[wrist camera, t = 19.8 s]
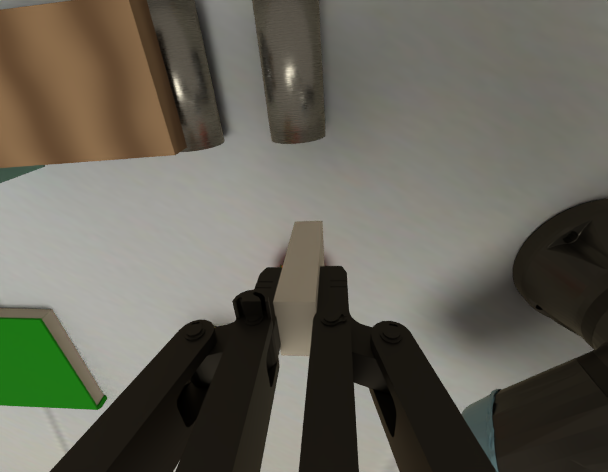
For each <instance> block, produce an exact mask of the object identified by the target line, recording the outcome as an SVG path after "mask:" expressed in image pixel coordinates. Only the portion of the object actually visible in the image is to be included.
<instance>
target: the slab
mask: <svg viewBox="0 0 608 472" xmlns="http://www.w3.org/2000/svg"><path fill="white" fill-rule="evenodd" d="M186 148H187V144H186V141H185V137H184V134H183V130H182V126H181V123H180V119H179V116H178V112H177V108H176V105H175V101H174V97H173V94H172V90H171V87H170V83H169V79H168V76H167V72H166V68H165V65H164V61H163V58H162V54H161V50H160V47H159V43H158V40H157V36H156V32H155V29H154V25H153V21H152V18H151V14H150V11H149V7H148V3H147V0H72V1H64V2H56V3H49V4H41V5H34V6H26V7H18V8H11V9H3V10H0V168H8V167H22V166H35V165H48V164H62V163H75V162H88V161H101V160H115V159H128V158H141V157H155V156H168V155H176V154H178V153H179V152H181V151H182V150H184V149H186Z"/></svg>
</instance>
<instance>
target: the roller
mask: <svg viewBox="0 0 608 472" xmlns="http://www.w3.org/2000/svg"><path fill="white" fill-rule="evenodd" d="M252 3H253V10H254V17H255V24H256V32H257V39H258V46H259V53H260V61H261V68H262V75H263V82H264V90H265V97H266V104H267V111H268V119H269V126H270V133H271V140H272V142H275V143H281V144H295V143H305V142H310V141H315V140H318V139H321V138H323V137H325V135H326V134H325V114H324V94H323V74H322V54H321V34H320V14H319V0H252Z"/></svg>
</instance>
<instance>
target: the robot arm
mask: <svg viewBox="0 0 608 472" xmlns="http://www.w3.org/2000/svg"><path fill="white" fill-rule="evenodd" d="M513 280H514V284H515V286H516V288H517V290H518V291H519V293H520V294H521V295H522V296H523V297H524V298H525V300H526V301H527V302H528V303H529V304H530V305H531V306H532V307H533V308H534V309H535V310H537V311H538V312H540V313H542V314H543V315H545V316H547V317H550V318H551V319H552V320H554V321H555V322H557V323H558V324H560V325H562V326H563V327H565V328H567V329H569V330H570V331H572V332H574V333H575V334H577V335H579V336H581V337H582V338H583V339H584V340H585V341H586V342H587V343H588V344H589V345H590V346H591V347H592V348H593V349H594V350H593V351H591V352H589V353H587V354H585V355H582V356H580V357H578V358H575V359H572V360H570V361H568V362H565V363H563V364H561V365H558V366H556V367H554V368H551V369H549V370H547V371H544V372H542V373H540V374H537V375H535V376H533V377H530V378H528V379H526V380H523V381H521V382H519V383H516V384H514V385H512V386H509V387H507V388H505V389H496V390H493V391H492V392H491V394H490V395H488V396H487V397H485V398H483V399H481V400H479V401H477V402H475V403H473V404H471V405H469V406H468V407H466V408H465V409H464V411H463V412H462V414H461V413H460V411H459V410H458V408H457V407H456V405H455V403H454V402H453V400H452V399H451V397H450V395H449V394H448V392H447V390H446V389H445V387H444V386H443V384H442V382H441V381H440V379H439V378H438V376H437V374H436V373H435V371H434V369H433V368H432V366H431V365H430V363H429V361H428V360H427V358H426V357H425V355H424V353H423V352H422V350H421V349H420V347H419V345H418V344H417V342H416V340H415V339H414V337H413V336H412V334H411V332H410V331H409V330H408V329H407V328H406V327H405V326H403V325H402V324H400V323H397V322H393V321H382V322H379V323H377V324H376V325H375V326H373V328H372V327H369V326H365V325H362V324H360V323H358V322H357V321H355V320H354V319H353V318H352V317H351V315H350V313H349V304H348V288H347V272H346V271H345V270H344V268H343V267H342V266H324V246H323V225H322V221H303V222H295V223H294V227H293V230H292V234H291V238H290V241H289V245H288V249H287V253H286V256H285V260H284V264H283V267H268V268H266V269H265V270H264V271H263V272H262V273H260V275H259V278H258V281H257V283H256V286H255V289H254V290H248V291H245V292H242V293H240V294H239V295H238V296H236V297H235V298H234V300H233V301H232V302H233V306H234V310H235V315H236V321H235V322H233V323H230V324H227V325H223V326H219V327H215V328H214V326H213V324H212V323H211V322H210V321H207V320H196V321H192V322H190V323H188V324H186V325H185V326H184V327H182V328H181V329H180V330H179V331H178V332H177V333H176V334H175V336H174V337H173V338H172V339H171V340H170V341H169V342H168V343H167V344H166V345H165V346H164V348H163V349H162V350H161V351H160V352H159V353H158V354H157V355H156V356H155V357H154V358H153V360H152V361H151V362H150V363H149V364H148V365H147V366H146V367H145V368H144V369H143V370H142V372H141V373H140V374H139V375H138V376H137V377H136V378H135V379H134V380H133V381H132V382H131V384H130V385H129V386H128V387H127V388H126V389H125V390H124V391H123V392H122V393H121V394H120V396H119V397H118V398H117V399H116V400H115V401H114V402H113V403H112V404H111V405H110V406H109V408H108V409H107V410H106V411H105V412H104V413H103V414H102V415H101V416H100V417H99V418H98V420H97V421H96V422H95V423H94V424H93V425H92V426H91V427H90V428H89V429H88V430H87V432H86V433H85V434H84V435H83V436H82V437H81V438H80V439H79V440H78V441H77V442H76V444H75V445H74V446H73V447H72V448H71V449H70V450H69V451H68V452H67V453H66V454H65V456H64V457H63V458H62V459H61V460H60V461H59V462H58V463H57V464H56V465H55V466H54V468H53V469H52V470H51V471H50V472H173V471H174V469H175V467H176V466H177V464H178V462H179V461H180V462H179V464H178V467H177V469H176V472H260V468H261V463H262V458H263V452H264V447H265V442H266V436H267V431H268V426H269V420H270V415H271V409H272V404H273V399H274V393H275V388H276V383H277V377H278V372H279V359H278V355H279V350H280V349H281V355H291V356H310V357H309V368H308V379H307V389H306V400H305V411H304V422H303V432H302V443H301V454H300V465H299V472H359V467H358V450H357V432H356V415H355V397H354V383H357V384H360V385H363V386H366V387H368V388H369V390H370V393H371V396H372V398H373V401H374V404H375V406H376V409H377V412H378V415H379V417H380V420H381V423H382V425H383V428H384V431H385V433H386V436H387V439H388V441H389V444H390V447H391V450H392V452H393V455H394V458H395V460H396V463H397V466H398V468H399V471H400V472H608V199H602V200H596V201H592V202H588V203H584V204H581V205H578V206H576V207H573V208H571V209H568V210H566V211H564V212H562V213H561V214H559V215H557V216H555V217H554V218H552V219H550V220H549V221H548V222H546V223H545V224H543V225H542V226H541V227H540V228H539V229H537V230H536V231H535V232H534V233H533V234H532V235H531V236H530V237H529V238H528V240H527V241H526V242H525V243H524V245H523V246H522V248H521V249H520V251H519V253H518V255H517V257H516V260H515V263H514V267H513Z"/></svg>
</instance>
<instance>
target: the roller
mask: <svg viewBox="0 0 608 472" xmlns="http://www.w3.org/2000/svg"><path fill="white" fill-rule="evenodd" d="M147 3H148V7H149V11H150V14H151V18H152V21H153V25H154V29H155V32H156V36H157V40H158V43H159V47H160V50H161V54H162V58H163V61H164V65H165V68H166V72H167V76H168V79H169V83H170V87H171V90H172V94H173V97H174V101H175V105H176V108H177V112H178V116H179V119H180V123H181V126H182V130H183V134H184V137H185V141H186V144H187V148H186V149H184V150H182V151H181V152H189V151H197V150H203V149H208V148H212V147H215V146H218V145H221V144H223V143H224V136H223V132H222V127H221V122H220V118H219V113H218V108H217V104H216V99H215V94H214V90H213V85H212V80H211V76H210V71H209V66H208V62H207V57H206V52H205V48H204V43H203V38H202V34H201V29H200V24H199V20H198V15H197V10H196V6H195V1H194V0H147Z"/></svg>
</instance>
